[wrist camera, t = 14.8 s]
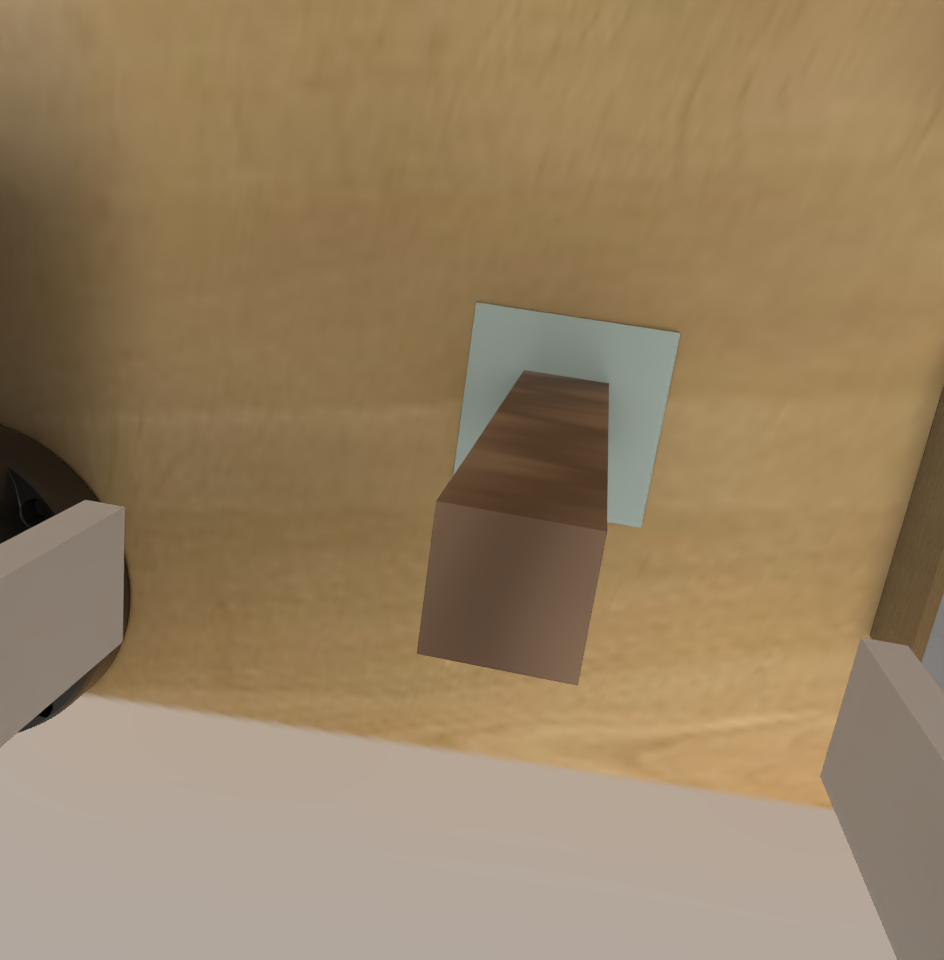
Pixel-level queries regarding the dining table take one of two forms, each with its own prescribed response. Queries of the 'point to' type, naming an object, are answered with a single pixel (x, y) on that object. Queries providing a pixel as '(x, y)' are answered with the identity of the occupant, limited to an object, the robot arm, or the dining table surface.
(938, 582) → the box
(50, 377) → the dining table surface
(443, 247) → the dining table surface
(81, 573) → the robot arm
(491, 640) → the brown wooden bar
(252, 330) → the dining table surface
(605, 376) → the pad
